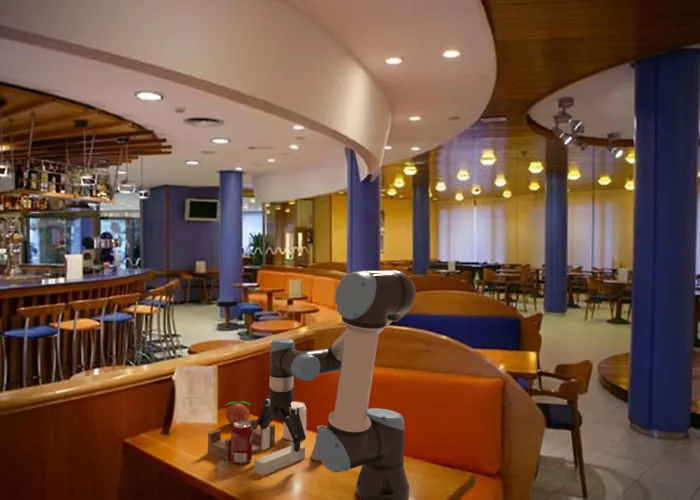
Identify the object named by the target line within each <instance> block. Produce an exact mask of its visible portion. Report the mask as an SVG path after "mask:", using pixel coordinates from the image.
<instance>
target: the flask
mask: <svg viewBox="0 0 700 500" xmlns="http://www.w3.org/2000/svg"><path fill="white" fill-rule="evenodd" d="M326 427H327V425H326V426H325V425H317V427H316V430H317V433H318V432H319V431H320V430H321V429H322V428H326ZM310 459H312V460H314V461H315V462H316V461H319V462H322V461H321V459H320V457H319V455H318V452H317V448H316V442H315V443H314V445H313V449H312V452H311V454H310Z"/></svg>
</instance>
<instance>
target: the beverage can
mask: <svg viewBox="0 0 700 500" xmlns="http://www.w3.org/2000/svg"><path fill="white" fill-rule="evenodd" d="M291 406H292V408H296V407H298V408H299V416H300V419H301V423H302V426H303V429H304V433H305V436H306V437H307V407H306V405H305V402H302V401H292V402H291ZM288 417H289V416H288ZM288 417H287V418H288ZM282 423H283V427H282V428H283V429H282V437H283V439H285V440H287V441H290V442H291V441H293V439H292V436H291V434H290V432H289V430H288V428H287V426H286V423H285V422H283V421H282ZM296 437H297V436H296Z"/></svg>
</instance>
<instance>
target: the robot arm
mask: <svg viewBox="0 0 700 500" xmlns="http://www.w3.org/2000/svg"><path fill="white" fill-rule="evenodd" d="M334 297H335V298H334V303H335V305H336V310H337V312H338V313H339V315H340V316H341V322H342V323H343V325H344V326H345V327H346V328H345V331H343V332H342V333H341V335H340V336H339V337H338V338H337V339H336V340H335V341H334V342H333V343H332V344H331V345H329V346H328V347H325V348H319V349H313V350H307V351H306V350H305V351H300V350H297V349H296V346H295V345H296V344H295V341H294V340H293V339H290V338H276V339H273V340H272V341H271V342H270V351H269V384H268V385H269V386H268V387H269V392H268V398H266V399H263V403H262V405H263V406H262V408H261V410H260V413H259V416H258V417H257V419H258V420H257V422H256V424H257V425H258V427H259V428H261V438H262V444H261V449H262V450H261V451H263V450H267V449H268V448H270V447H269V438H270V428H269V427H268V425H271V423H272V422H273V420H274V419H275V418H277V419H278V418H279V419H280V420H282V423H283V422H285V423H286V426H287V428H288V430H289V432H290V434H291V436H292V439H293V441H290V446H291V462H292V464H294V463H296V462H295V461H297V460H299V451H300V445H301V441H302V442H303V441H304V440H306V439H307V435H306V436H305V433H304V429H303V426H302V423H301V419H300V416H299V408H298V407H296V408H292V406H291V402H293V401H294V389H293V388H294V380H295V379H294V377H295V378H296V379H298V380H302V381H306V382H307V381H313V380H314V379H315V378H316V377H318V375H323V374H329V373H333V372H339V379H338V386H337V393H336V399H335V405H334V411H332V412H330V413H329V414H328V417H327V422H326V423H327V424H326V428H322V429H321V430H320V431H319V432H318V431H317V433H316V436H315V443H316V448H317V452H318V455H319V457H320V459H321V461H320V462H321V463H322V464H323V466H324V467H325V468H326V469H327V470H329V471H330V472H332V473H337V474H338V473H341V472H348V471H350V470H353V469H355V468H358V467H361V468H360V471H359V474H358V477H357V480H356V484H355V492H356V495H357V496H358V497H359V498H360V499H361V500H406V499H408V498H409V495H410V484H409V481H408V477H407V473H406V469H405V465H404V462H405V461H404V457H405V455H404V454H405V431H406V428H405V419H404V416H403V415H402V414H401V413H399V412H396V411H394V410H390V409H387V408H386V409H385V408H377V407H376V408H373V407H372V408H369V402H370V395H371V390H372V389H371V388H372V383H373V375H374V369H375V361H376V355H377V354H376V353H377V350H378V343H379V342H378V341H379V335H380V334H381V333H382V331H383V330H385V329H386V328H387V327H388V326H389V325H390V324H391V323H392V322H398V321H400V320H401V319H402V318H403V317H404V316H406V314H408V313H409V311H411V309H412V308H413V306H414V304H415V301H416V297H417V291H416V286H415V284H414V282H413V280H412V279H411V278H410V276H408V275H407V274H406V273H404V272H403V271H399V270H395V269H389V270H387V269H386V270H359V271H353V272H349V273H346V275H344V276H343V277H342V278H341V279H340V281H339V282H338V284H337V286H336V288H335V293H334ZM288 416H289V417H288ZM287 417H288V418H287ZM267 427H268V428H267ZM296 436H297V437H296ZM299 461H300V460H299ZM293 462H294V463H293ZM297 462H298V461H297Z"/></svg>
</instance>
